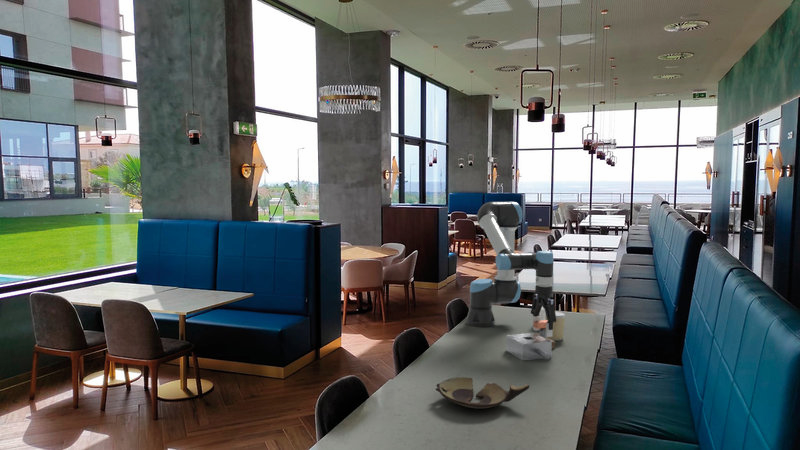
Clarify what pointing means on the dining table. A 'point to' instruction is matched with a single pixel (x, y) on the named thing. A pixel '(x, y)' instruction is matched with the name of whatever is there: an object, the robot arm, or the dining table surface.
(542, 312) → the white cup
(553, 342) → the wooden square frame
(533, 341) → the block
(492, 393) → the brown curved dish
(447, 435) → the dining table surface
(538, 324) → the block
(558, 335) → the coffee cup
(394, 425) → the dining table surface
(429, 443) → the dining table surface
